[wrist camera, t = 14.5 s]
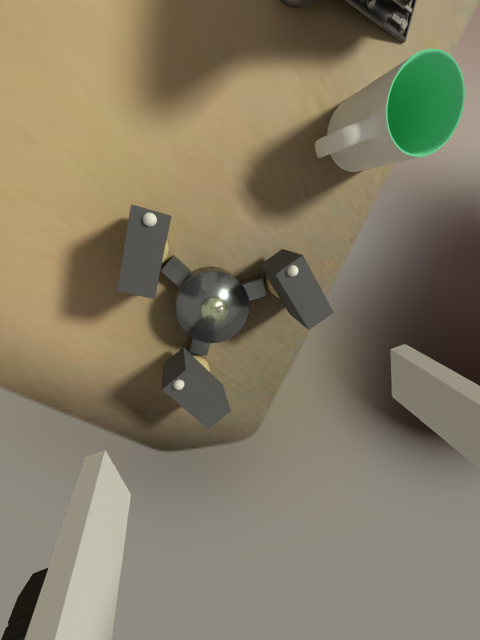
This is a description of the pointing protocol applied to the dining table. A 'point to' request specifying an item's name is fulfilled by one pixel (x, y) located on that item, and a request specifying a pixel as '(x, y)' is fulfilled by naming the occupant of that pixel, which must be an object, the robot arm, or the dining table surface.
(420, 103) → the mug
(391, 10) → the camera
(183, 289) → the level base
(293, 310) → the knob
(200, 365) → the knob
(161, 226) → the grey block with dot
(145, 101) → the dining table surface
